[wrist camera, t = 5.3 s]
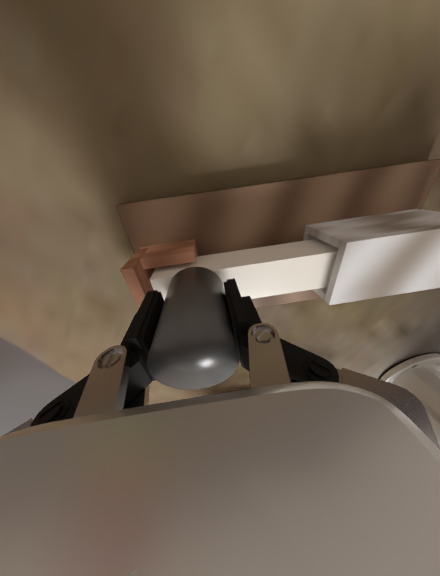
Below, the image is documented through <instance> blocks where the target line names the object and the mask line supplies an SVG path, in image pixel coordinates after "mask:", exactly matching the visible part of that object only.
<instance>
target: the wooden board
mask: <svg viewBox="0 0 440 576" xmlns="http://www.w3.org/2000/svg"><path fill="white" fill-rule="evenodd" d="M439 171H440V159H436V160H426V161H419V162H412V163H405V164H398V165H391V166H384V167H377V168H370V169H363V170H356V171H349V172H342V173H335V174H328V175H321V176H314V177H307V178H299V179H292V180H285V181H278V182H271V183H264V184H257V185H250V186H243V187H236V188H229V189H222V190H215V191H208V192H201V193H194V194H187V195H180V196H173V197H166V198H159V199H152V200H145V201H138V202H131V203H124V204H119V205H116V209H117V211H118V214H119V216H120V219H121V221H122V223H123V226H124V228H125V231H126V233H127V236H128V238H129V240H130V243H131V245H132V248H133V250H134V253H135V254H134V255H133V256H132V257H131V259H130V260H129V261H128V262H127V263H126V264H125V265H124V266H123V267H122V268H121V272H122V274H123V276H124V278H125V281H126V283H127V285H128V287H129V289H130V291H131V293H132V295H133V297H134V299H135V301H136V303H137V305H138V307H139V308H140V306H141V303H142V301H143V299H144V297H145V295H146V293H147V292H148V291H154V290H153V287H152V285H151V282H150V278H151V276H152V274H153V272H154V270H155V268H157V267H164V266H171V265H177V264H184V263H191V262H196V257H198V256H205V255H211V254H218V253H225V252H231V251H238V250H245V249H252V248H258V247H265V246H272V245H278V244H285V243H292V242H298V241H305V240H312V239H319V240H322V241H324V242H326V243H328V244H330V245H332V246H334V247H336V248H338V251H337V255H336V259H335V262H334V266H333V270H332V274H331V277H330V281H329V285H328V287H325V288H319V289H312V290H306V291H299V292H293V293H287V294H280V295H274V296H267V297H261V298H254V299H252V302H253V304H254V306H255V308H259V307H266V306H272V305H279V304H285V303H291V302H298V301H304V300H310V299H317V298H322V299H323V300H324V301H325V302H326V303H327V304H328V305H333V304H340V303H346V302H352V301H359V300H365V299H371V298H378V297H384V296H390V295H397V294H403V293H409V292H416V291H422V290H428V289H435V288H440V212H438V211H430V210H422V209H421V208H422V206H423V204H424V202H425V200H426V198H427V196H428V194H429V192H430V190H431V188H432V185H433V183H434V181H435V179H436V177H437V175H438V173H439Z"/></svg>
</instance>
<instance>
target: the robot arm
mask: <svg viewBox="0 0 440 576" xmlns="http://www.w3.org/2000/svg"><path fill="white" fill-rule="evenodd" d="M224 291H225V297H226V302H227V306H228V311H229V316H230V320H231V325H232V330H233V334H234V339H235V342H236V346H237V351H238V356H239V361H240V362H241V366H243V368H245V369H247V370H248V371H249V374H250V389H246V390H239V391H233V392H227V393H220V394H214V395H208V396H202V397H195V398H189V399H183V400H177V401H171V402H165V403H159V404H153V405H148V404H149V384H150V383H151V382H152V381H154V380H156V379H154V378H153V377H152V376H151V374H150V373H149V371H148V369H147V358H148V354H149V351H150V348H151V344H152V341H153V338H154V334H155V331H156V328H157V324H158V321H159V318H160V314H161V311H162V308H163V304H164V299H163V296H162V294H161V292H158V291H157V290H154V291H148V292H147V293H146V295H145V297H144V299H143V301H142V303H141V306H140V308H139V310H138V312H137V313H136V314H135V316H134V318H133V320H132V322H131V324H130V326H129V328H128V330H127V332H126V334H125V336H124V338H123V341H122V343H121V345H117V346H113V347H110V348H108V349H107V350H105V351H104V352H102V353H101V354H100V355H99V356H98V357H97V358H96V360H95V362H94V364H93V367H92V370H91V372H90V374H89V375H87V376H86V377H85V378H83V379H82V380H80V381H79V382H78V383H76V384H75V385H73V386H72V387H71V388H70V389H68V390H67V391H65V392H64V393H62V394H61V395H59V396H58V397H57V398H55V399H54V400H53V401H51V402H50V403H49V404H47V405H46V406H45V407H44V408H43V409H42V410H41V411H40V412H39V413H38V414H37V416H36V417H35V419H34V420H33V419H32V418H31V419H29V420H28V421H26V422H24V423H23V424H21V425H19V426H18V427H16V428H14V429H13V430H11V431H10V432H8V433H6V434H5V435H3V436H1V437H0V576H440V446H439V443H440V354H437V353H434V354H425V355H421V356H417V357H414V358H412V359H409V360H407V361H404V362H402V363H400V364H398V365H396V366H395V367H393V368H392V369H390V370H389V371H387V372H386V373H385V374H384V375H383V376H382V377H381V378H380V380H379V379H376V378H373V377H370V376H367V375H364V374H361V373H357V372H354V371H351V370H348V369H345V368H342V369H341V370H340V369H337V368H335V367H334V366H333V365H332V364H331V363H330V362H329V361H327V360H326V359H324V358H322V357H320V356H317V355H315V354H313V353H311V352H309V351H306V350H304V349H302V348H300V347H298V346H296V345H293V344H291V343H289V342H287V341H285V340H282V339H280V338H279V334H278V332H277V330H276V329H275V328H274V327H273V326H271V325H269V324H266V323H262V322H261V320H260V318H259V315H258V313H257V311H256V309H255V306H254V304H253V302H252V299H251V297H250V296H245V297H241V295H240V292H239V289H238V286H237V283H236V281H235V278H233V279H227V280H226V282H224ZM438 442H439V443H438Z"/></svg>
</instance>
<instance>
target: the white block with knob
mask: <svg viewBox="0 0 440 576" xmlns="http://www.w3.org/2000/svg"><path fill="white" fill-rule="evenodd" d="M337 251H338V248H336V247H334V246H332V245H330V244H328V243H326V242H324V241H322V240H319V239H312V240H305V241H298V242H292V243H285V244H278V245H272V246H265V247H258V248H252V249H245V250H238V251H231V252H225V253H218V254H211V255H205V256H198V257H196V262H191V263H184V264H177V265H171V266H164V267H157V268H155V270H154V272H153V274H152V276H151V278H150V282H151V285H152V287H153V290H157V291H158V292H161V294H162V296H163V299H164V304H163V308H162V311H161V314H160V318H159V321H158V324H157V328H156V331H155V334H154V338H153V341H152V344H151V348H150V351H149V354H148V358H147V369H148V371H149V373H150V374H151V376H152V377H153V378H154V379H156V380H157V381H158V382H160V383H162V384H164V385H166V386H169V387H173V388H178V389H187V390H193V389H203V388H208V387H211V386H214V385H217V384H219V383H221V382H223V381H225V380H226V379H228V378H229V377H230V376H231V375H232V374H233V373H234V372H235V371H236V369H237V367H238V364H239V356H238V351H237V346H236V342H235V339H234V334H233V330H232V325H231V320H230V316H229V311H228V306H227V302H226V297H225V291H224V282H226V280H227V279H233V278H235V281H236V283H237V286H238V289H239V292H240V295H241V297H245V296H250V297H251V299H254V298H261V297H267V296H274V295H280V294H287V293H293V292H299V291H306V290H312V289H319V288H325V287H328V285H329V281H330V277H331V274H332V270H333V266H334V262H335V259H336V255H337Z"/></svg>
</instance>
